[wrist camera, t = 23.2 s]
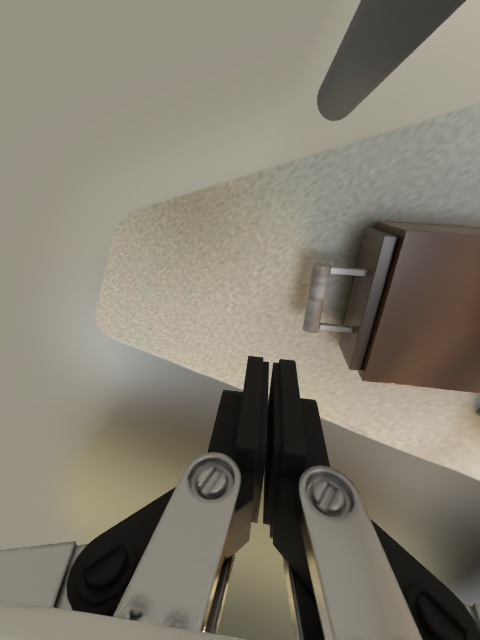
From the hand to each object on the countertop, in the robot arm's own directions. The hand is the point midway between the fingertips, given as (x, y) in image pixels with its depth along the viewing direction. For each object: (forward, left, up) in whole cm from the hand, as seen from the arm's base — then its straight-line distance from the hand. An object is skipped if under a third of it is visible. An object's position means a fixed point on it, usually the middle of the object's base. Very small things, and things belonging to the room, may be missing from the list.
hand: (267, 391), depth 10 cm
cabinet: (+3, +20, -23) cm, 31 cm away
